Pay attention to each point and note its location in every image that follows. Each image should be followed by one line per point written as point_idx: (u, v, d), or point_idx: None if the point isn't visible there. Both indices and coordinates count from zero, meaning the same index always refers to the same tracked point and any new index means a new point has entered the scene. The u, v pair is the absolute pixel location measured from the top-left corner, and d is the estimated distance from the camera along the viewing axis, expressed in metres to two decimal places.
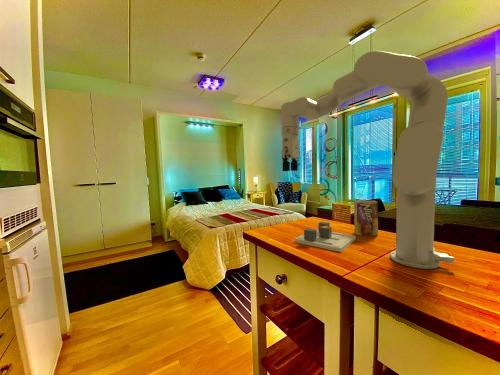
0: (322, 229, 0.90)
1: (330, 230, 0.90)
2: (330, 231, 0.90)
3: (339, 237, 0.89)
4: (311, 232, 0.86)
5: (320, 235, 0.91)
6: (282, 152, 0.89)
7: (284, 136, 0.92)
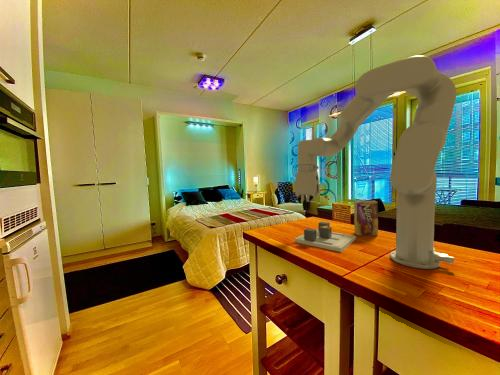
0: (322, 229, 0.90)
1: (330, 230, 0.90)
2: (330, 231, 0.90)
3: (339, 237, 0.89)
4: (311, 232, 0.86)
5: (320, 235, 0.91)
6: (317, 197, 0.92)
7: (315, 174, 0.91)
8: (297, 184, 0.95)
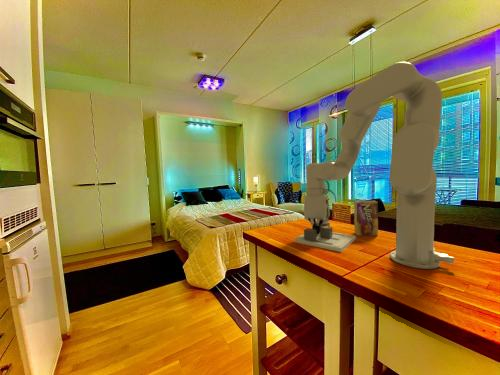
0: (323, 229, 0.90)
1: (331, 230, 0.89)
2: (331, 231, 0.89)
3: (339, 237, 0.89)
4: (311, 232, 0.86)
5: (321, 235, 0.90)
6: (327, 221, 0.90)
7: (325, 198, 0.89)
8: (306, 207, 0.93)
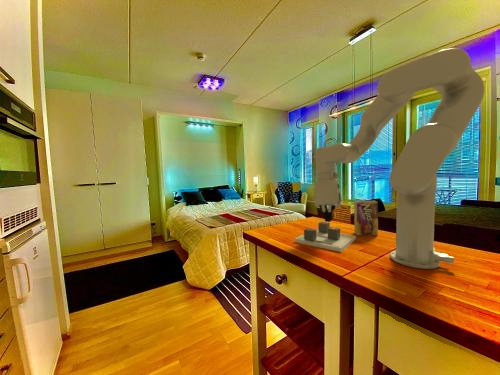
0: (330, 230, 0.88)
1: (339, 231, 0.87)
2: (339, 232, 0.87)
3: None
4: (311, 232, 0.86)
5: (328, 236, 0.88)
6: None
7: (336, 182, 0.85)
8: (317, 194, 0.89)
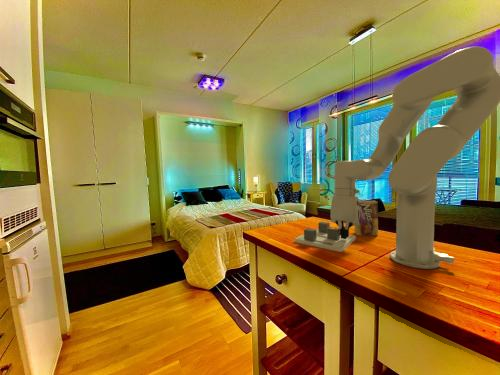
0: (330, 230, 0.88)
1: (338, 231, 0.87)
2: (338, 232, 0.87)
3: None
4: (311, 232, 0.86)
5: (328, 236, 0.88)
6: None
7: (356, 199, 0.81)
8: (334, 209, 0.85)
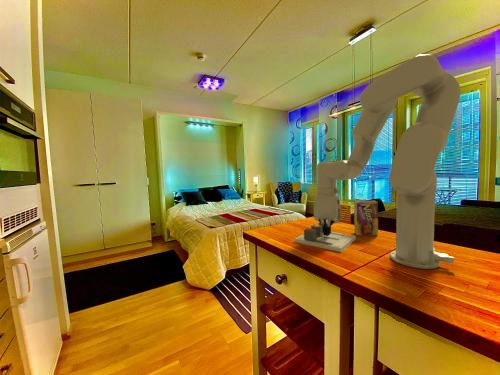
0: (314, 228, 0.92)
1: (321, 229, 0.92)
2: (321, 230, 0.92)
3: (339, 237, 0.89)
4: (311, 232, 0.86)
5: None
6: (338, 222, 0.87)
7: (336, 198, 0.86)
8: (316, 208, 0.90)
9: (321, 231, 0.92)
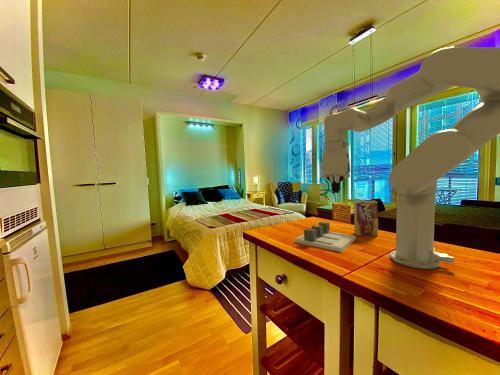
0: (314, 228, 0.92)
1: (322, 229, 0.92)
2: (322, 230, 0.92)
3: (339, 237, 0.89)
4: (311, 232, 0.86)
5: None
6: (348, 177, 0.83)
7: (345, 151, 0.82)
8: (325, 164, 0.86)
9: (321, 231, 0.92)
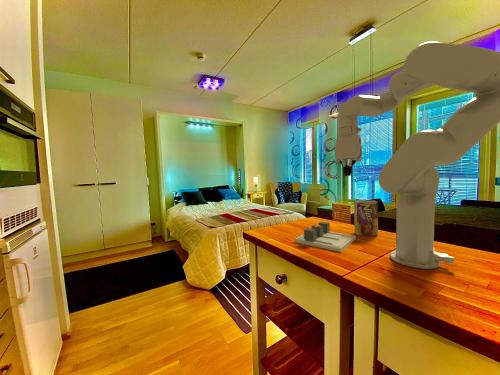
0: (314, 228, 0.92)
1: (322, 229, 0.92)
2: (322, 230, 0.92)
3: (339, 237, 0.89)
4: (311, 232, 0.86)
5: None
6: None
7: (358, 136, 0.88)
8: (338, 149, 0.92)
9: (321, 231, 0.92)
